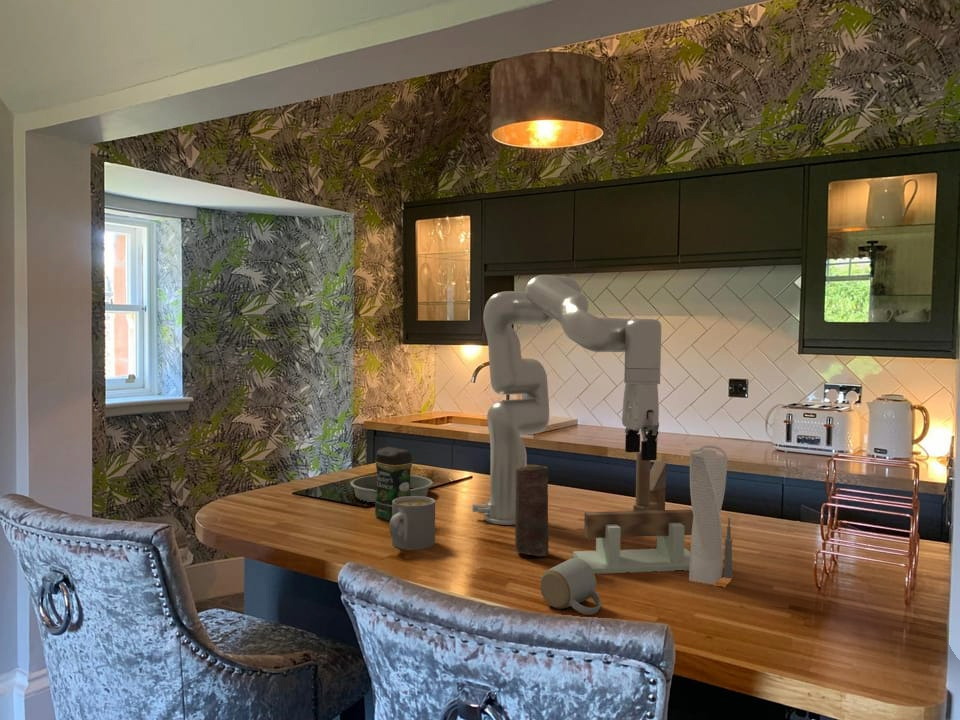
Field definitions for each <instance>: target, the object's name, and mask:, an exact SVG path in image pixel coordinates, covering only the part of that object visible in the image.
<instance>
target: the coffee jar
mask: <svg viewBox="0 0 960 720" xmlns="http://www.w3.org/2000/svg"><path fill="white" fill-rule="evenodd" d="M412 457H413V456H412V453H411V451H409V450H408V449H401V448H398V447H391V446H388V447H380V448H378V450H377V451H376V454H375V468H376V475H377V492H376V503H374V505H375V507H374V508H375V509H374V513H375V514H374V515H375V516H376V517H377V518H380V519H382V520H387V521H390V520H391V518H392V502H393V500H394V499H396V498H400V497H407V496H411V490H410V475H411V470H412V466H413V458H412Z"/></svg>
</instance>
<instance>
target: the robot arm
mask: <svg viewBox="0 0 960 720" xmlns="http://www.w3.org/2000/svg"><path fill="white" fill-rule="evenodd" d="M483 309H484V310H483V325H484V329H485V330H484V331H485V335H486V339H487V347H488V362H489V363H488V364H489V375H490V376H489V377H490V385H491V388H492V389H493V391H494V392H495V393H496V394H499V395H503V396H504V395H505V396H506V395H521V398H520V399H519V398H518V399H504V400H499V401H496V402H494V403H493V404H492V405H491V406H490V408H489V409H488V410H487V413H486V418H487V419H486V422H487V427H488V433H489V442H490V472H489V473H490V482H489V483H490V484H489V485H490V487H489V488H490V489H489V492H490V493H489V500H487V503H486V502H484V503H483V504H472V505H471V506H472V508H471V511H472V513H478V514H484V515H483V519H484V520H485V521H486V522H488V523H491V524H494V525H501V526H516V468H520V467H526V466H527V465H528V463H527V459H528V458H527V450H526V446H525V445H524V442H523V440H522V439H521V436H525V435H535V434H539V433H542V432H544V431H545V430H546V429H547V427H548V424H549V422H550V401H549V399H550V398H549V386H548V385H549V383H548V376H547V373H546V372H547V371H546V369H545V367H544V365H543V364H542V363H541V362H540V361H538V360H537V359H534V358H523V357H522V350H521V349H522V348H521V341H520V338H519V336H518V333H517V332H516V330H515V329H514V328H513V327H512V325H534V326H535V325H543V324H545V323H546V324H547V323H548V322H551V321H552V320H555V321H557V322H559V323H560V324H561V328H562V330H563V332H564V334H565V335H566V336H567V337H568V339H570V340H571V341H573V342H575V344H577V345H579V346H581V347H582V348H584V349H585V350H587V351H591V352H594V353H624V372H623V373H624V376H623V378H624V380H623V381H624V384H625V385H624V391H623V399H622V400H623V402H622V403H623V404H622V414H621V415H622V417H621V420H622V421H621V423H622V425H623V426H624V427H625V429H624V431H625V432H624V433H625V443H624V444H625V447H624V451H625V452H626V453H637V452H640V451H641V459H642V460H644V461H646V460H650V461H656V460H657V457H658V456H657V455H658V452H657V451H658V449H657V448H658V440H659V438H658V436H659V428H660V421H659V415H660V414H659V413H660V412H659V411H660V410H659V408H660V407H659V406H660V405H659V389H658V385H661V365H662V363H661V360H662V359H661V358H662V357H661V355H662V324H661V322H660V321H659V320H658V319H654V318H653V319H652V318H649V319H648V318H632V319H630V318H622V317H621V318H620V317H619V318H617V317H598V316H596V315H593V314H592V313H589V312H588V310H589V301H588V298H587V297H586V296H585V294H584V293H582V289H581V287H580V285H579V283H578V281H576V279H573V278H572V277H570V276H565V275H555V274H554V275H551V274H539V275H537V276H534V277H533V278H531V279H530V280H529V281H528V282H527V284H526V287H525V291H512V290H508V291H500V292H497V293H495V294H492V296H490V298H489V299H488V300H487V301H486V304H485V306H484V308H483ZM640 432H641V433H640ZM641 436H642V440H641Z"/></svg>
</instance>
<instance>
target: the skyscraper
mask: <svg viewBox="0 0 960 720" xmlns="http://www.w3.org/2000/svg"><path fill="white" fill-rule="evenodd" d="M711 449H715V450H718V451H719V452H721V453H722V455H721V454H717V451H715V450H711ZM697 452H701V453H697ZM727 469H728V455H727V453H726V451H724V449H722V448H721V447H720V446H715V445H709V444H708V445H703V446H701V447H700V448H698V449H697V448H696V449H692V450H690V451H689V489H690V490H689V492H690V493H689V494H690V501H691V502H690V503H691V510H692V511H693V524H692V534H691V535H690V550H689V551H690V570H688V571H689V573H688V575H689V576H688V579H689V580H688V582H690V581H696V582H702V583H708V584H713V585H715V583H716V582H717V581H718V580H719V579H720V578H722V575H723V577H725V578H732V577H733V548H732V547H733V539H731V538H732V537H731V535H732V534H731V530H732V526H731V518H730V517H728V518H727V521H728V522H727V526H726V538H724V544H725V545H724V549H723V526H722V519H721V517H722V516H721V512H722V507H723V503H724V498H725V493H726V482H727V471H728V470H727ZM723 550H724V552H723ZM723 554H724V559H723Z"/></svg>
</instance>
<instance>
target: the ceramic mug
mask: <svg viewBox="0 0 960 720" xmlns="http://www.w3.org/2000/svg"><path fill="white" fill-rule="evenodd" d="M539 588H540V592H541V596H542V598H543V599H544V601H545V602H546V604H548V605H549V606H550V607H552V608H554V609H560V610H562V609H566V608H570V607H572V609H574V610H575V611H576V612H578V613H579V614H583V615H585V616H586V615H589V616H592V615H596V614H597V613H598V612H599V610H600V609H601V607H602V600H601V598H600V595H599V594H598V593H597V578H596V576H595V574H594V572H593V570H592V569H591V567H590V566H589V565H588V564H587V563H586V562H585V561H584V560H582V559H579V558H574V557H572V558H569V559H567V560H565V561H563V562H561V563H559V564H557V565H555V566H552V567H551V568H549V569H547V570H546V571H545V572H544V573H543V574H542V576H541V578H540V582H539ZM589 599H592V600H593V601H594V603H595V605H596V606H594V607H588V606H584V605H582V604H580V603H582V602H585V601H588V600H589Z"/></svg>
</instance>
